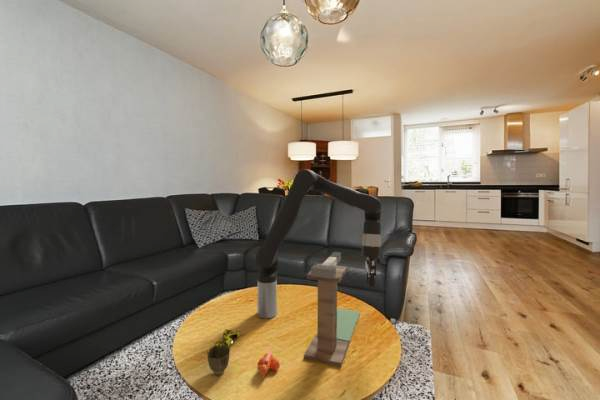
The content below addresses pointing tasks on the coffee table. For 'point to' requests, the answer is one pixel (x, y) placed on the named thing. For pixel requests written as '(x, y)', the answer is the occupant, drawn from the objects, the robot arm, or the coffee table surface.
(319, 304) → the stand
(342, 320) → the mat
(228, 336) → the toy motorcycle
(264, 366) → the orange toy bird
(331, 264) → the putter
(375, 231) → the robot arm
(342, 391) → the coffee table surface
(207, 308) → the coffee table surface
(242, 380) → the coffee table surface
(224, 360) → the cup
